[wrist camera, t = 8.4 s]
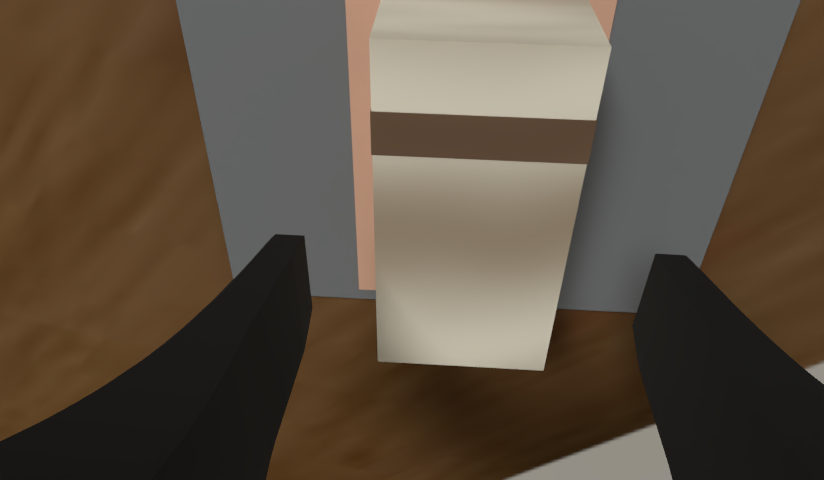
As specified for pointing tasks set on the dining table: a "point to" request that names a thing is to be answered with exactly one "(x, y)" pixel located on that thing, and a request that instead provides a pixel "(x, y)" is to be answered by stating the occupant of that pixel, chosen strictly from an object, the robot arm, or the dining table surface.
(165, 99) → the dining table surface
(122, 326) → the dining table surface
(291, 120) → the mat
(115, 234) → the dining table surface
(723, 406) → the robot arm
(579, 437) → the dining table surface
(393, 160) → the cream banded block
